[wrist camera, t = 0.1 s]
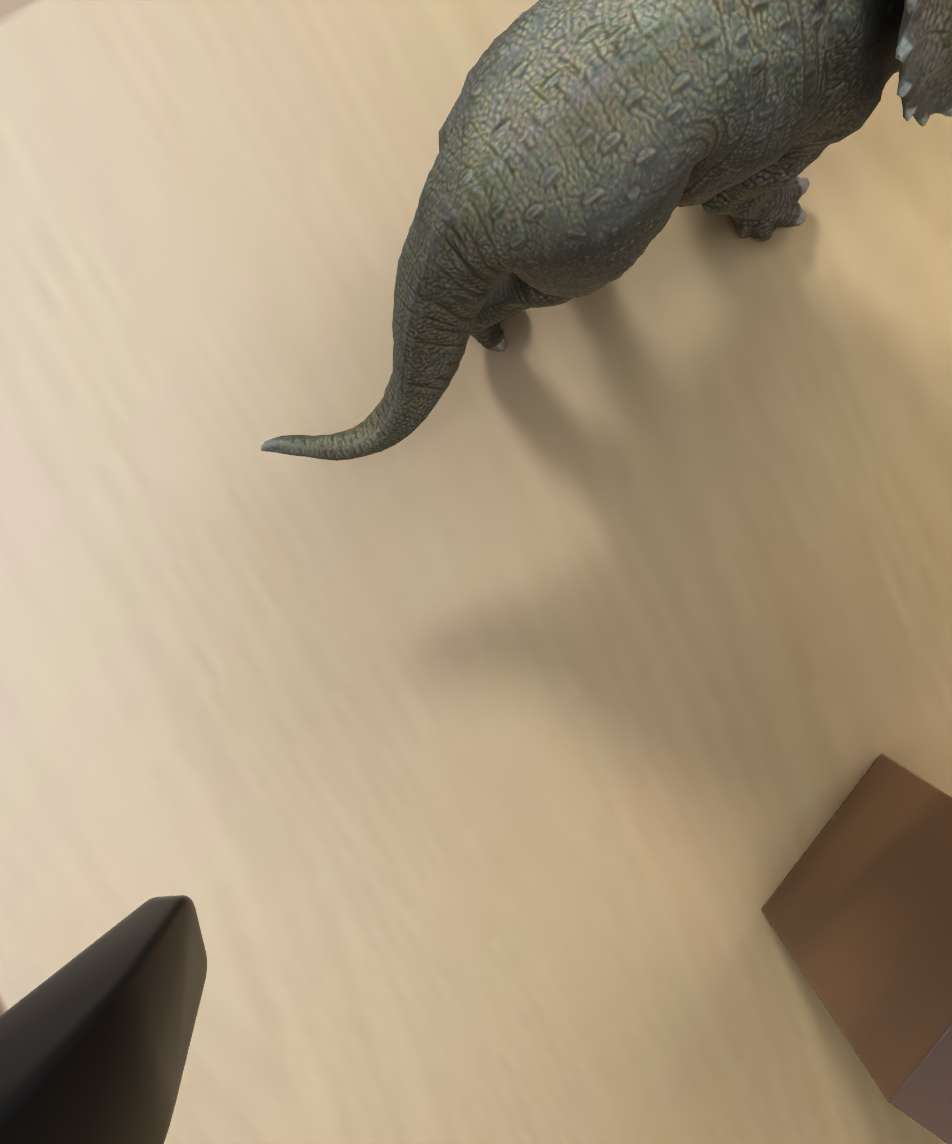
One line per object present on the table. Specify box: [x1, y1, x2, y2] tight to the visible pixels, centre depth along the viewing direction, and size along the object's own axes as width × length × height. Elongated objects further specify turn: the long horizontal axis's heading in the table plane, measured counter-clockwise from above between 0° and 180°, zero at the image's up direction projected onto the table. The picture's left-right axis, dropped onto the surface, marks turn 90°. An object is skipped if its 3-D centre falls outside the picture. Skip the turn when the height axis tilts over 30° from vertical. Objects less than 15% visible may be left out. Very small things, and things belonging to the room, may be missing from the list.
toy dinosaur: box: [261, 0, 952, 460], centre depth 17 cm, size 22×8×11 cm, turn 113°
